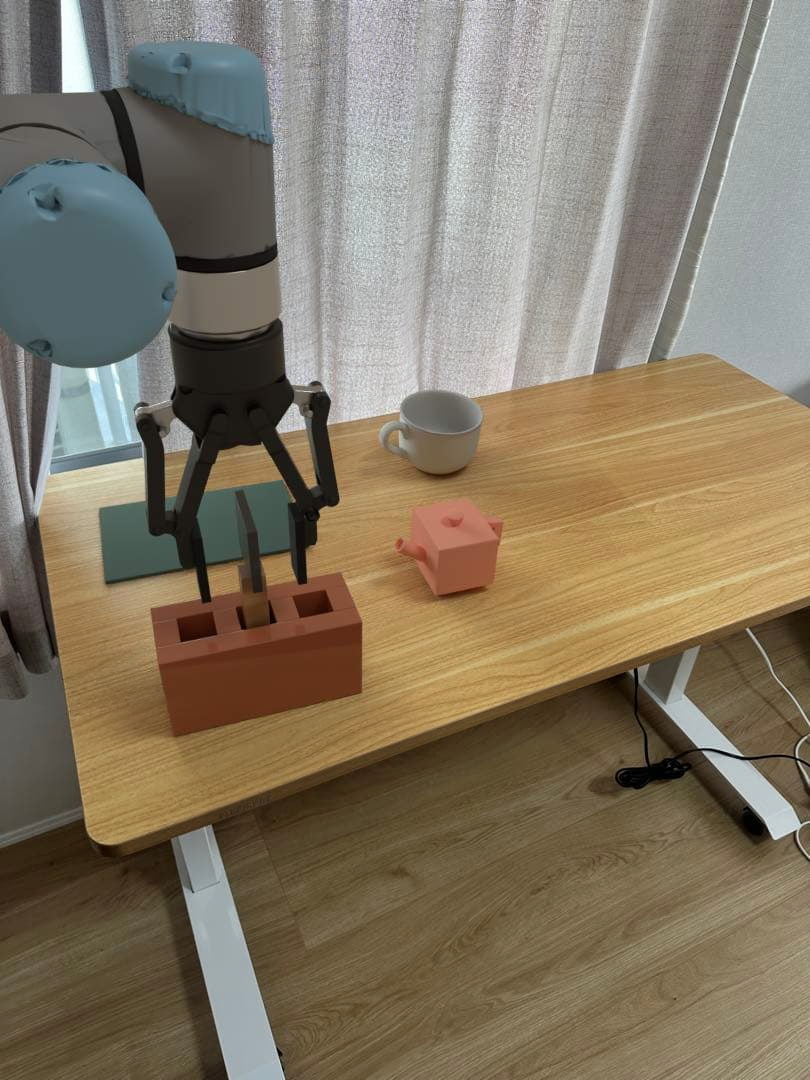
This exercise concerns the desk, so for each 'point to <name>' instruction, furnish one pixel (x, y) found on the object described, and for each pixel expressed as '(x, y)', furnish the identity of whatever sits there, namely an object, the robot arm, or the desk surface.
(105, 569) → the mat
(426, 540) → the pink cube teapot
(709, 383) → the desk surface
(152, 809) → the desk surface
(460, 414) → the teacup
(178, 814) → the desk surface
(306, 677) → the holder
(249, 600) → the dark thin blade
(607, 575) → the desk surface
